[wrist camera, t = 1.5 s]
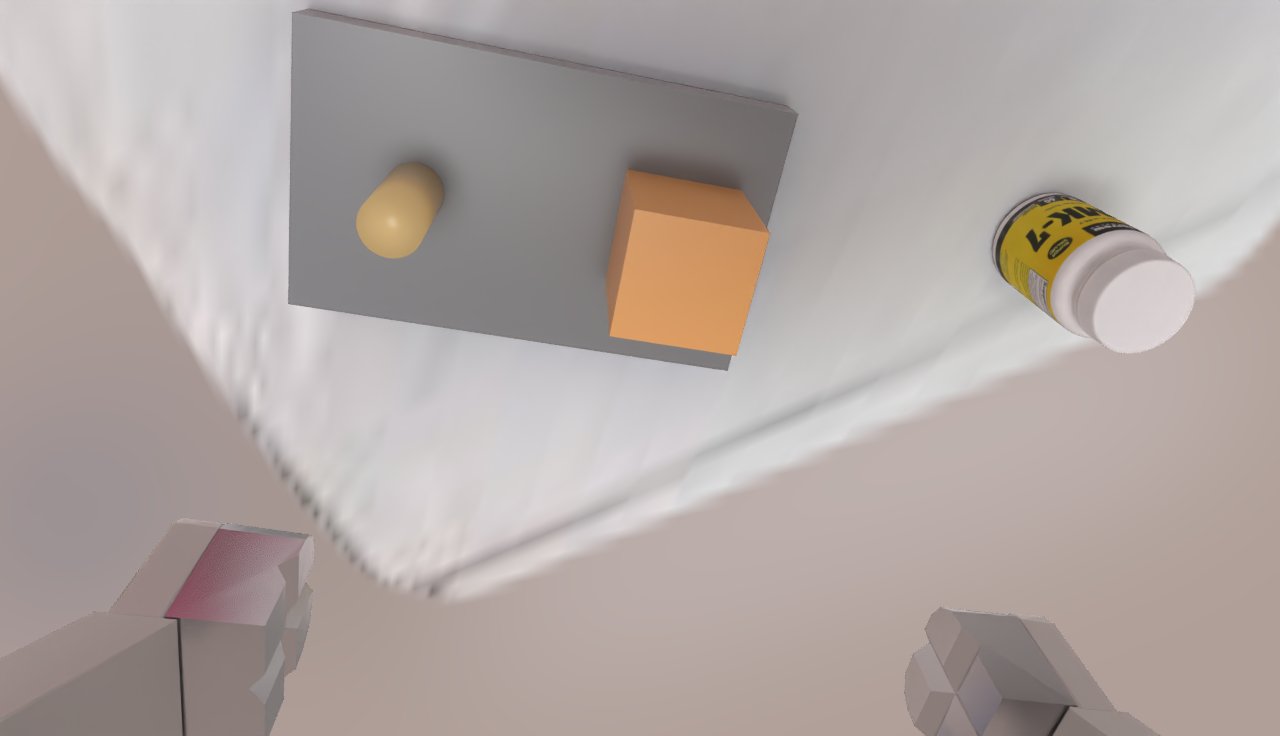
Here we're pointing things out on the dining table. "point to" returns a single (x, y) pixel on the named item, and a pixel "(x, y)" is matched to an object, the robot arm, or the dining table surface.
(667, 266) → the tangerine wooden cube
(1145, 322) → the supplement bottle
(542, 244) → the plate
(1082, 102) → the dining table surface
